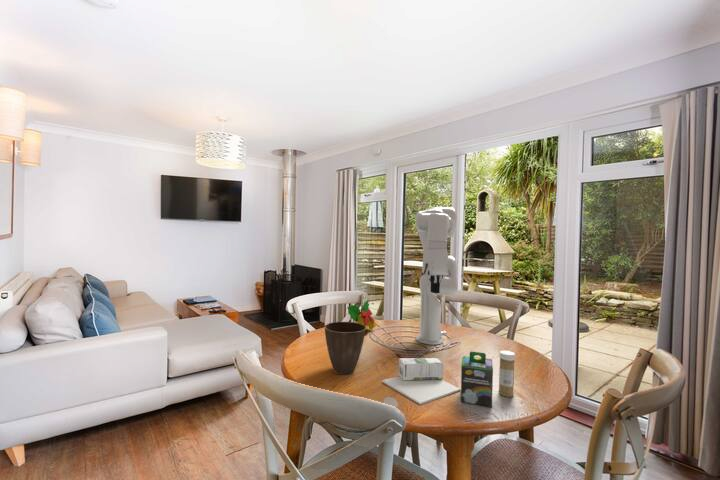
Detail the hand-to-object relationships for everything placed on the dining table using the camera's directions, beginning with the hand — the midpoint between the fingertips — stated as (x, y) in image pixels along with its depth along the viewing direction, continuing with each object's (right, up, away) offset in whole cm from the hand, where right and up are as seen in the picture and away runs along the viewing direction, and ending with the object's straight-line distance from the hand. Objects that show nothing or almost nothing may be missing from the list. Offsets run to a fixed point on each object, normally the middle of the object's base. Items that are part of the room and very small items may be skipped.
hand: (434, 292), depth 135 cm
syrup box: (-1, -25, -13) cm, 28 cm away
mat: (-9, -28, -20) cm, 36 cm away
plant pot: (-35, -27, -9) cm, 45 cm away
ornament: (-27, -27, +42) cm, 56 cm away
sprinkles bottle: (+18, -29, -24) cm, 41 cm away
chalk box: (+7, -29, -27) cm, 40 cm away
